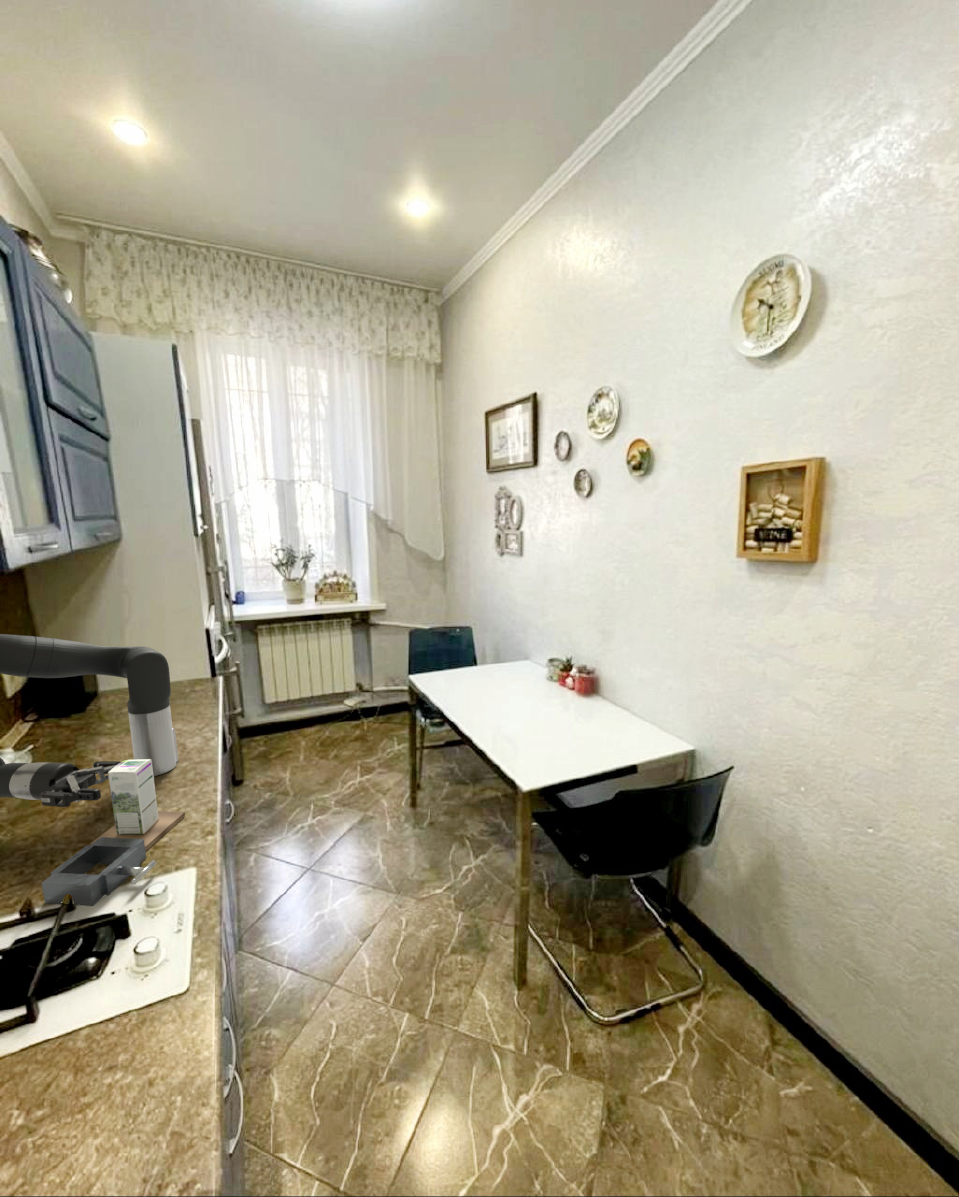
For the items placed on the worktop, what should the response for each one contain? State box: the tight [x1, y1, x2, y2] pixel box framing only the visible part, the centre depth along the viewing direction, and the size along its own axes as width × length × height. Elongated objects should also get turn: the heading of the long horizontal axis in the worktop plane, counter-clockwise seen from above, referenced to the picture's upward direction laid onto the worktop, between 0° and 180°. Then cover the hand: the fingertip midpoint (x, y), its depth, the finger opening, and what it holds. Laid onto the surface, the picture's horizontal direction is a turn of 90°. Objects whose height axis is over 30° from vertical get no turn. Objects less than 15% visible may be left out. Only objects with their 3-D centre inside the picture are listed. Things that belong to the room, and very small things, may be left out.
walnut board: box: [89, 810, 186, 852], centre depth 107 cm, size 12×12×1 cm
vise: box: [41, 837, 157, 907], centre depth 92 cm, size 12×15×4 cm
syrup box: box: [107, 759, 159, 835], centre depth 105 cm, size 6×6×14 cm
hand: (115, 783), depth 105 cm, fingers open, 8 cm apart
